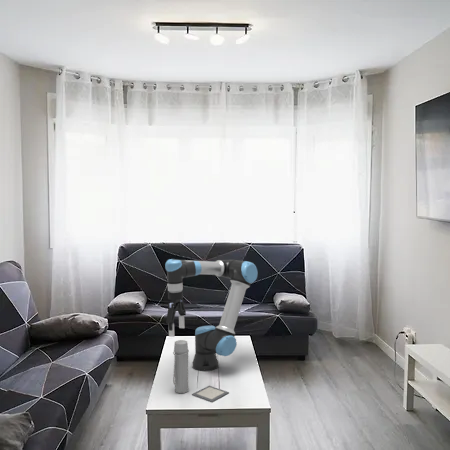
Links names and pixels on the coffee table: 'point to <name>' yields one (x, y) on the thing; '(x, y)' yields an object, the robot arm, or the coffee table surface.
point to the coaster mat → (210, 393)
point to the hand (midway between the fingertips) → (176, 332)
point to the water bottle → (181, 366)
